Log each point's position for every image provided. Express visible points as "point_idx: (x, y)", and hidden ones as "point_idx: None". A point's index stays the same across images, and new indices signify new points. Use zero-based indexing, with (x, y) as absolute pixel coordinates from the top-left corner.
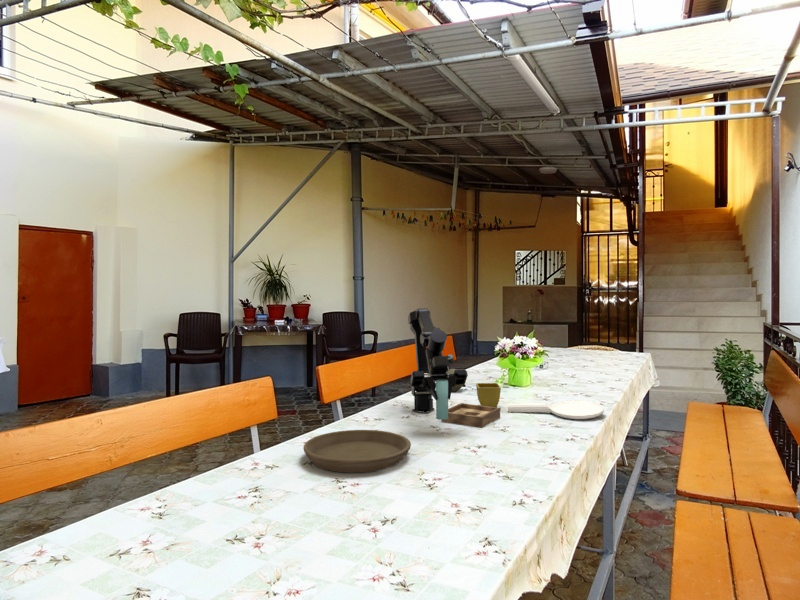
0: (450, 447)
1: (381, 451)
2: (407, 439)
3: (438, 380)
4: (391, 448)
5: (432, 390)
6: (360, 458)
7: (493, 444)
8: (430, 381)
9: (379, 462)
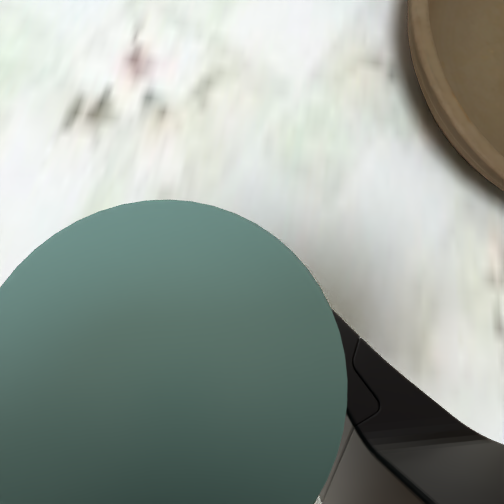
0: (221, 117)
1: (496, 76)
2: (425, 43)
3: (264, 427)
4: (460, 104)
5: (348, 328)
6: None
7: (27, 129)
8: (476, 461)
9: None
